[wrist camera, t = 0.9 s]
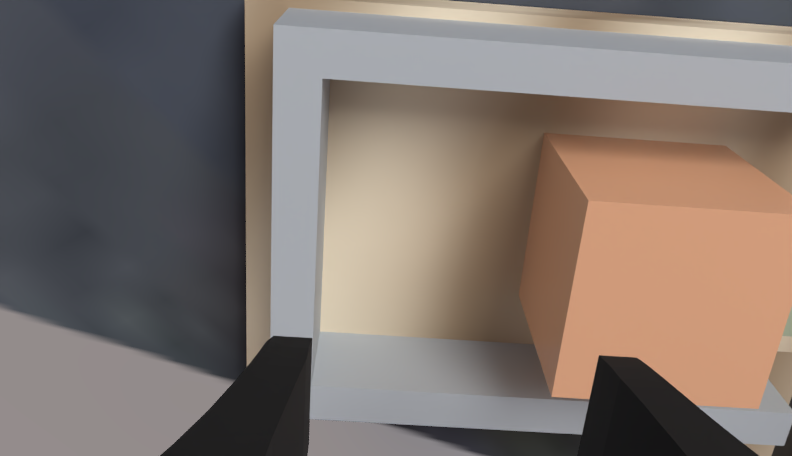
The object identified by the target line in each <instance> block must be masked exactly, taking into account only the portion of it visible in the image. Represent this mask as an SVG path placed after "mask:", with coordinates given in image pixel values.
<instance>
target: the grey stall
mask: <svg viewBox="0 0 792 456" xmlns="http://www.w3.org/2000/svg"><path fill="white" fill-rule="evenodd" d="M330 79H335V80H348V81H362V82H376V83H390V84H403V85H417V86H431V87H445V88H459V89H472V90H486V91H500V92H514V93H528V94H541V95H555V96H569V97H583V98H597V99H610V100H624V101H638V102H652V103H666V104H679V105H693V106H707V107H721V108H734V109H748V110H762V111H776V112H790V113H792V46H788V45H775V44H762V43H749V42H735V41H722V40H709V39H696V38H683V37H669V36H656V35H643V34H630V33H617V32H603V31H590V30H577V29H564V28H551V27H537V26H524V25H511V24H498V23H485V22H471V21H458V20H445V19H432V18H419V17H405V16H392V15H379V14H366V13H353V12H339V11H326V10H313V9H300V8H288V9H287V10H286V11H285V13H284V14H283V15H282V16H281V17H280V18H279V19H278V20H277V21H276V22H275V23H274V24H273V117H272V222H271V326H270V338H271V337H273V336H287V337H303V338H312V364H311V392H310V419H315V420H333V421H352V422H368V423H386V424H404V425H422V426H439V427H457V428H475V429H493V430H511V431H528V432H546V433H564V434H582V432H583V427H584V423H585V418H586V413H587V409H588V404H589V399H578V398H561V397H551V394H550V391H549V388H548V385H547V382H546V379H545V376H544V373H543V369H542V366H541V363H540V360H539V357H538V354H537V351H536V348H535V345H534V344H519V343H502V342H486V341H469V340H453V339H436V338H420V337H403V336H386V335H370V334H353V333H337V332H320V321H321V296H322V271H323V246H324V221H325V196H326V172H327V147H328V122H329V97H330ZM696 406H698V407H699V408H700V409H701V410H702V411H704V412H705V413H706V414H707V415H708V416H710V417H711V418H712V419H713V420H714V421H716V422H717V423H718V424H719V425H721V426H722V427H723V428H724V429H726V430H727V431H728V432H729V433H731V434H732V435H733V436H734V437H736V438H737V439H738V440H739V441H741V442H742V443H743V444H759V445H777V446H784V445H785V442H786V439H787V436H788V434H789V431H790V428H791V425H792V409H791V407H790V406H789V405H788V404H787V402H786V401H785V400H784V398H783V397H782V396H781V395H780V393H779V392H778V391H777V390H776V388H775V387H774V386H773V384H772V383H771V382H770V381H769V379H768V381H767V384H766V388H765V391H764V394H763V397H762V400H761V403H760V406H759V409H750V408H733V407H716V406H699V405H696Z"/></svg>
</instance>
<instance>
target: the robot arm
mask: <svg viewBox="0 0 792 456" xmlns="http://www.w3.org/2000/svg"><path fill="white" fill-rule="evenodd" d="M311 364H312V338H303V337H287V336H273V337H271V338H270V339H269V340H268V341H266V343H265V344H264V345H263V347H262V348H261V349H260V351H259V352H258V353H257V355H256V356H255V357H254V359H253V360H252V361H251V362H250V364H249V365H248V366H247V367H246V369H245V370H244V371H243V372H242V373H241V375H240V376H239V377H238V378H237V379H236V380H235V382H234V383H233V384H232V385H231V386H230V387H229V388H228V389H227V390H226V392H225V393H224V394H223V395H222V396H221V397H220V398H219V399H218V400H217V402H216V403H215V404H214V405H213V406H212V407H211V408H210V409H209V410H208V411H207V412H206V413H205V414H204V415H203V416H202V417H201V418H200V419H199V420H198V421H197V422H196V423H195V424H194V425H193V426H192V427H191V428H190V429H189V430H188V431H187V432H185V433H184V434H183V435H182V436H181V437H180V439H178V440H177V441H176V442H175V443H174V444H173V445H172V446H171V447H170V448H168V449H167V450H166V451H165V452H164V453H163V454H162V455H160V456H307V453H308V445H309V420H310V392H311ZM577 456H759V455H758V454H756V453H755V452H754V451H752V450H751V449H750V448H749V447H747V446H746V445H745V444H743V443H742V442H741V441H739V440H738V439H737V438H736V437H734V436H733V435H732V434H731V433H729V432H728V431H727V430H726V429H724V428H723V427H722V426H721V425H719V424H718V423H717V422H716V421H714V420H713V419H712V418H711V417H710V416H708V415H707V414H706V413H705V412H704V411H702V410H701V409H700V408H699V407H698V406H696V405H695V404H694V403H693V402H692V401H690V400H689V399H688V398H687V397H686V396H684V395H683V394H682V393H681V392H680V391H678V390H677V389H676V388H675V387H674V386H672V385H671V384H670V383H669V382H668V381H666V380H665V379H664V378H663V377H662V376H660V375H659V374H658V373H657V372H655V371H654V370H653V369H652V368H650V367H649V366H648V365H647V364H645V363H644V362H642V361H641V360H640V359H638V358H636V357H619V356H603V355H599V357H598V362H597V366H596V371H595V376H594V381H593V385H592V390H591V395H590V399H589V404H588V409H587V413H586V418H585V423H584V427H583V432H582V437H581V441H580V446H579V451H578V455H577Z"/></svg>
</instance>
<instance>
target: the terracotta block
mask: <svg viewBox="0 0 792 456" xmlns="http://www.w3.org/2000/svg"><path fill="white" fill-rule="evenodd" d="M519 298H520V301H521V304H522V307H523V310H524V314H525V317H526V320H527V323H528V326H529V329H530V332H531V335H532V338H533V341H534V345H535V348H536V351H537V354H538V357H539V360H540V363H541V366H542V369H543V373H544V376H545V379H546V382H547V385H548V388H549V391H550V394H551V397H561V398H578V399H590V395H591V390H592V385H593V381H594V376H595V371H596V366H597V362H598V357H599V355H603V356H619V357H636V358H638V359H640V360H641V361H642V362H644V363H645V364H647V365H648V366H649V367H650V368H652V369H653V370H654V371H655V372H657V373H658V374H659V375H660V376H662V377H663V378H664V379H665V380H666V381H668V382H669V383H670V384H671V385H672V386H674V387H675V388H676V389H677V390H678V391H680V392H681V393H682V394H683V395H684V396H686V397H687V398H688V399H689V400H690V401H692V402H693V403H694V404H695V405H699V406H716V407H733V408H750V409H759V406H760V403H761V400H762V397H763V394H764V391H765V388H766V384H767V381H768V378H769V375H770V372H771V369H772V366H773V363H774V360H775V357H776V354H777V351H778V347H779V344H780V341H781V338H782V335H783V332H784V329H785V326H786V323H787V320H788V317H789V313H790V310H791V307H792V195H791V194H790V193H789V192H787V191H786V190H785V189H783V188H782V187H781V186H779V185H778V184H777V183H775V182H774V181H773V180H771V179H770V178H768V177H767V176H766V175H764V174H763V173H762V172H760V171H759V170H758V169H756V168H755V167H754V166H752V165H751V164H750V163H748V162H747V161H746V160H744V159H743V158H741V157H740V156H739V155H737V154H736V153H735V152H733V151H732V150H731V149H729V148H728V147H727V146H723V145H709V144H695V143H681V142H667V141H652V140H638V139H624V138H610V137H596V136H582V135H568V134H553V133H544V137H543V144H542V150H541V156H540V163H539V169H538V175H537V182H536V188H535V194H534V201H533V207H532V213H531V220H530V226H529V232H528V239H527V245H526V251H525V258H524V264H523V270H522V277H521V283H520V289H519Z"/></svg>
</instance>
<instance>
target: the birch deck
mask: <svg viewBox="0 0 792 456" xmlns="http://www.w3.org/2000/svg"><path fill="white" fill-rule="evenodd" d="M288 8H300V9H313V10H326V11H339V12H353V13H366V14H379V15H392V16H405V17H419V18H432V19H445V20H458V21H471V22H485V23H498V24H511V25H524V26H537V27H551V28H564V29H577V30H590V31H603V32H617V33H630V34H643V35H656V36H669V37H683V38H696V39H709V40H722V41H735V42H749V43H762V44H775V45H788V46H792V27H787V26H774V25H761V24H748V23H734V22H721V21H708V20H695V19H682V18H669V17H656V16H643V15H630V14H617V13H604V12H591V11H578V10H565V9H552V8H539V7H526V6H513V5H500V4H487V3H474V2H461V1H448V0H245V141H246V336H247V366H248V365H249V364H250V362H251V361H252V360H253V359H254V357H255V356H256V355H257V353H258V352H259V351H260V349H261V348H262V347H263V345H264V344H265V343H266V341H268V340H269V339H270V326H271V222H272V117H273V24H274V23H275V22H276V21H277V20H278V19H279V18H280V17H281V16H282V15H283V14H284V13H285V11H286V10H287V9H288ZM544 133H553V134H568V135H582V136H596V137H610V138H624V139H638V140H652V141H667V142H681V143H695V144H709V145H723V146H727V147H728V148H729V149H731V150H732V151H733V152H735V153H736V154H737V155H739V156H740V157H741V158H743V159H744V160H746V161H747V162H748V163H750V164H751V165H752V166H754V167H755V168H756V169H758V170H759V171H760V172H762V173H763V174H764V175H766V176H767V177H768V178H770V179H771V180H773V181H774V182H775V183H777V184H778V185H779V186H781V187H782V188H783V189H785V190H786V191H787V192H789V193H790V194H791V195H792V113H790V112H776V111H762V110H748V109H734V108H721V107H707V106H693V105H679V104H666V103H652V102H638V101H624V100H610V99H597V98H583V97H569V96H555V95H541V94H528V93H514V92H500V91H486V90H472V89H459V88H445V87H431V86H417V85H403V84H390V83H376V82H362V81H348V80H335V79H330V97H329V122H328V147H327V172H326V196H325V221H324V246H323V271H322V296H321V321H320V332H337V333H353V334H370V335H386V336H403V337H420V338H436V339H453V340H469V341H486V342H502V343H519V344H534V341H533V338H532V335H531V332H530V329H529V326H528V323H527V320H526V317H525V314H524V310H523V307H522V304H521V301H520V298H519V289H520V283H521V277H522V270H523V264H524V258H525V251H526V245H527V239H528V232H529V226H530V220H531V213H532V207H533V201H534V194H535V188H536V182H537V175H538V169H539V163H540V156H541V150H542V144H543V137H544ZM768 379H769V381H770V382H771V383H772V384H773V386H774V387H775V388H776V390H777V391H778V392H779V393H780V395H781V396H782V397H783V398H784V400H785V401H786V402H787V404H788V405H789V406H790V407H791V409H792V307H791V310H790V313H789V317H788V320H787V323H786V326H785V329H784V332H783V335H782V338H781V341H780V344H779V347H778V351H777V354H776V357H775V360H774V363H773V366H772V369H771V372H770V375H769V378H768ZM745 445H746V446H747V447H749V448H750V449H751V450H752V451H754V452H755V453H756V454H758V455H759V456H792V425H791V428H790V431H789V434H788V436H787V439H786V442H785V445H784V446H777V445H759V444H745Z"/></svg>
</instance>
